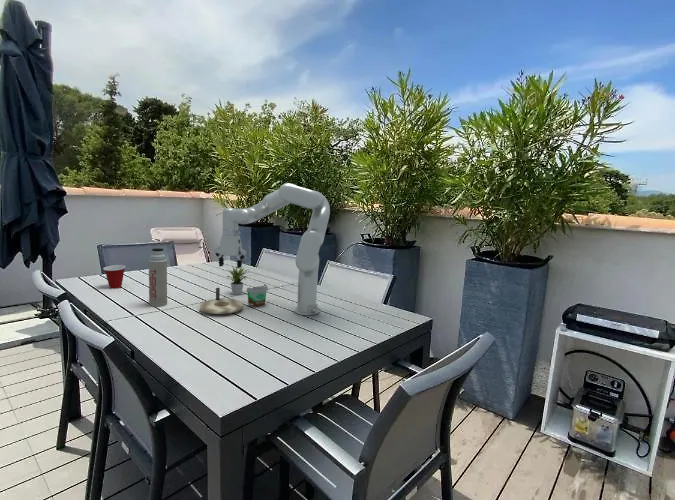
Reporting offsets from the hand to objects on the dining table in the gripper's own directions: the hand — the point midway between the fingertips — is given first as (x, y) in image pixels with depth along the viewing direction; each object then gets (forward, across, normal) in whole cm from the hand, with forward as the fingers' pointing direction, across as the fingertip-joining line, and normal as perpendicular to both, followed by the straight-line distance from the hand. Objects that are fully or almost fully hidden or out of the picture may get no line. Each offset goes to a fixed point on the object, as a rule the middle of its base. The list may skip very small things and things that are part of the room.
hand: (230, 266), depth 182 cm
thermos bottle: (+20, +32, +12) cm, 40 cm away
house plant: (+20, +6, -20) cm, 29 cm away
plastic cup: (+19, +74, -6) cm, 77 cm away
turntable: (+20, 0, +9) cm, 22 cm away
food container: (+20, -14, -5) cm, 25 cm away
